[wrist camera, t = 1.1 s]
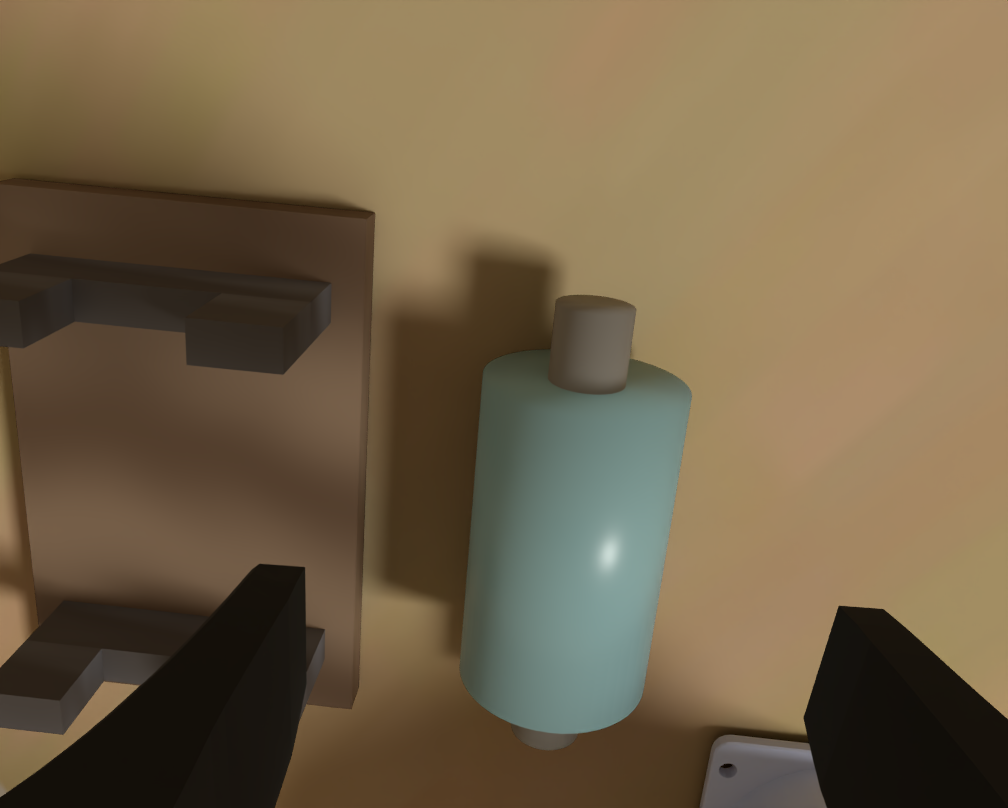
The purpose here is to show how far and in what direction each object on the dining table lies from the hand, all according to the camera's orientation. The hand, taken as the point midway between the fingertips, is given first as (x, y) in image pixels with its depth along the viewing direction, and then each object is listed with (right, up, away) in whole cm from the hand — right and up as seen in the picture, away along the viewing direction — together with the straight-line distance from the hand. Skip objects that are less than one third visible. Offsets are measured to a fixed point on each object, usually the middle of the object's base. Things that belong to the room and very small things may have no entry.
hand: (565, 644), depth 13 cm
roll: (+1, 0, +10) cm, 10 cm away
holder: (-9, +2, +13) cm, 16 cm away
